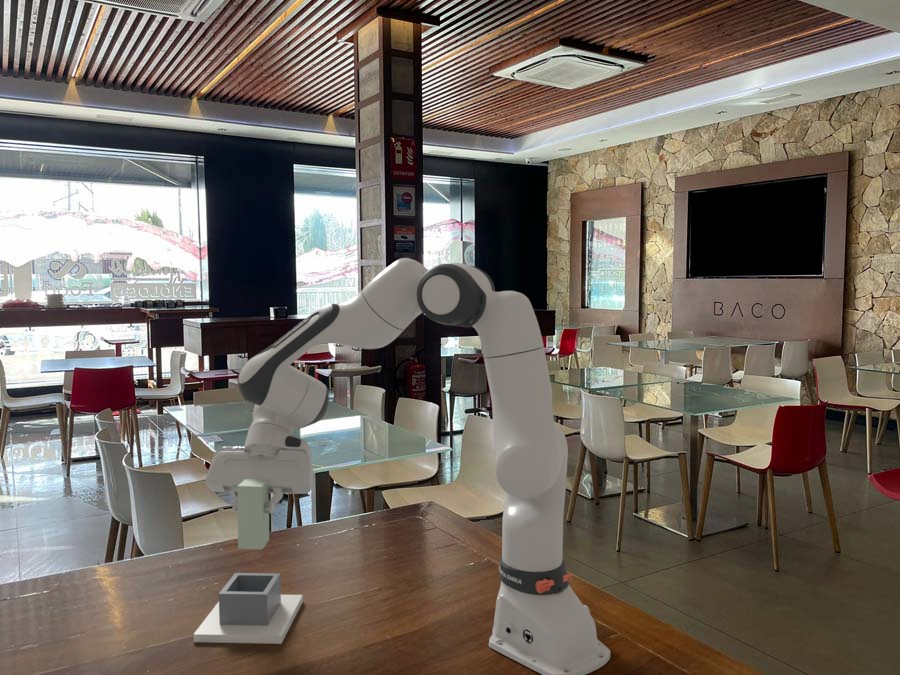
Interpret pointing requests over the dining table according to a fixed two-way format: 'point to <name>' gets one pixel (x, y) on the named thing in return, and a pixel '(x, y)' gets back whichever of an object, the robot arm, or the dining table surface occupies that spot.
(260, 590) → the well stand
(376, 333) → the robot arm
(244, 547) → the sage block
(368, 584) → the dining table surface
